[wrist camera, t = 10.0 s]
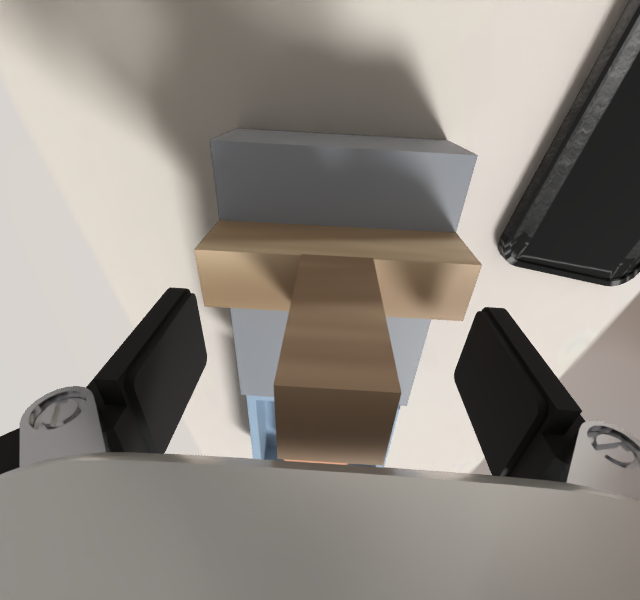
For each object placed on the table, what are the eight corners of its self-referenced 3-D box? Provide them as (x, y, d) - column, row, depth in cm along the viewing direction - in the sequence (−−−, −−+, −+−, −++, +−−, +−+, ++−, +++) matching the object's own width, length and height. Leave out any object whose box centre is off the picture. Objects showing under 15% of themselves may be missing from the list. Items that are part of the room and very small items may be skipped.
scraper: (219, 219, 14) (83, 373, 7) (456, 231, 14) (596, 404, 6) (226, 271, 15) (120, 449, 8) (441, 283, 15) (543, 475, 8)
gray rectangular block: (236, 128, 16) (209, 139, 12) (447, 140, 16) (477, 155, 12) (254, 350, 23) (241, 394, 20) (396, 359, 23) (406, 405, 20)
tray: (255, 360, 24) (245, 393, 21) (394, 369, 24) (401, 403, 21) (262, 444, 29) (255, 477, 27) (375, 451, 29) (378, 486, 27)
